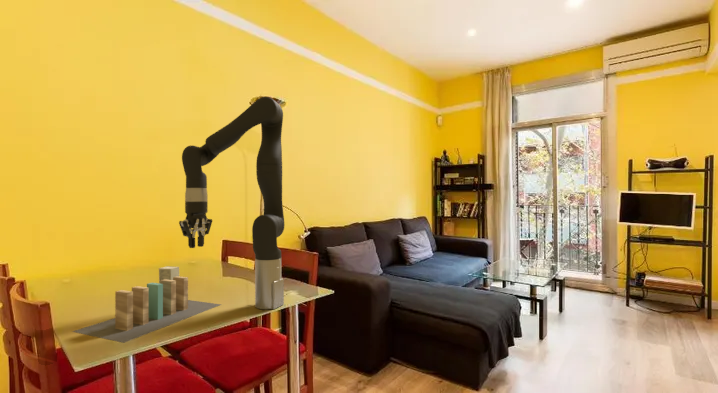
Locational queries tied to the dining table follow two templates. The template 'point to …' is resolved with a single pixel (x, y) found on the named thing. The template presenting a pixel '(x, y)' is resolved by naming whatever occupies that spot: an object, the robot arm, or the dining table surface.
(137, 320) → the domino
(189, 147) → the robot arm
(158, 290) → the domino
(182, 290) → the domino
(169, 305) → the domino
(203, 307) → the mat
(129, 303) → the domino
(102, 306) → the dining table surface
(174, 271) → the skincare box
